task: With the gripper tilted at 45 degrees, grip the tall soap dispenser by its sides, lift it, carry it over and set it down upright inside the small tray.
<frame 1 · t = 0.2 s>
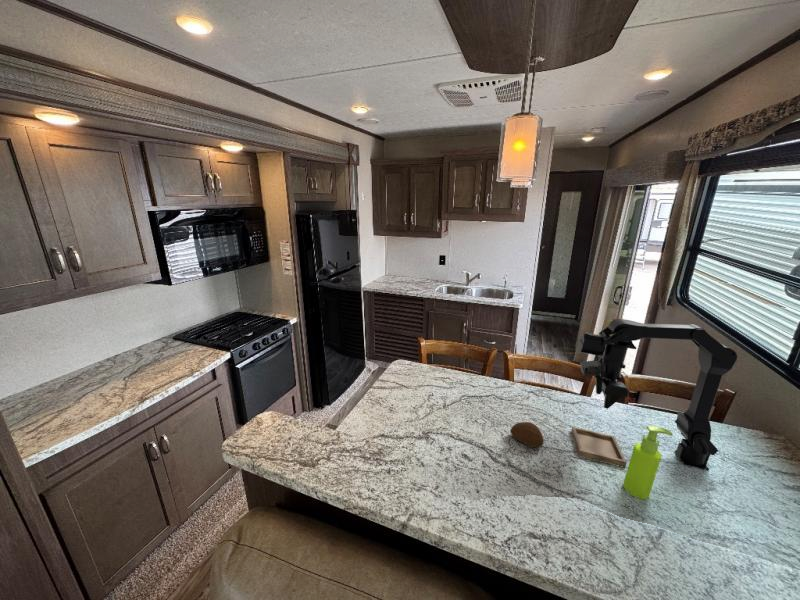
hand: (601, 400, 104), 15 cm above the worktop, tool pointing down, fingers open, 9 cm apart
soap dispenser: (637, 491, 87), on the worktop
potato: (525, 441, 104), on the worktop
tray: (596, 448, 103), on the worktop
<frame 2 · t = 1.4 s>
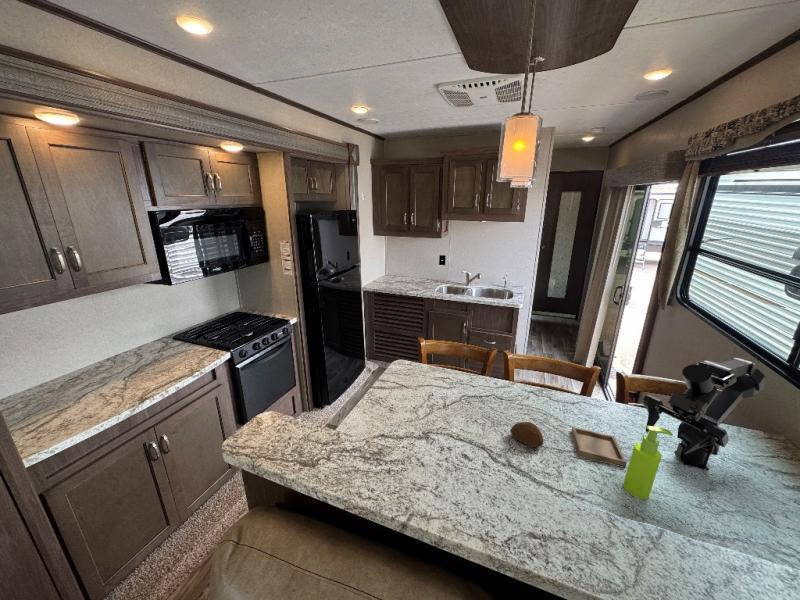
hand: (664, 441, 87), 13 cm above the worktop, tool tilted 45°, fingers open, 9 cm apart
nothing on the worktop moved.
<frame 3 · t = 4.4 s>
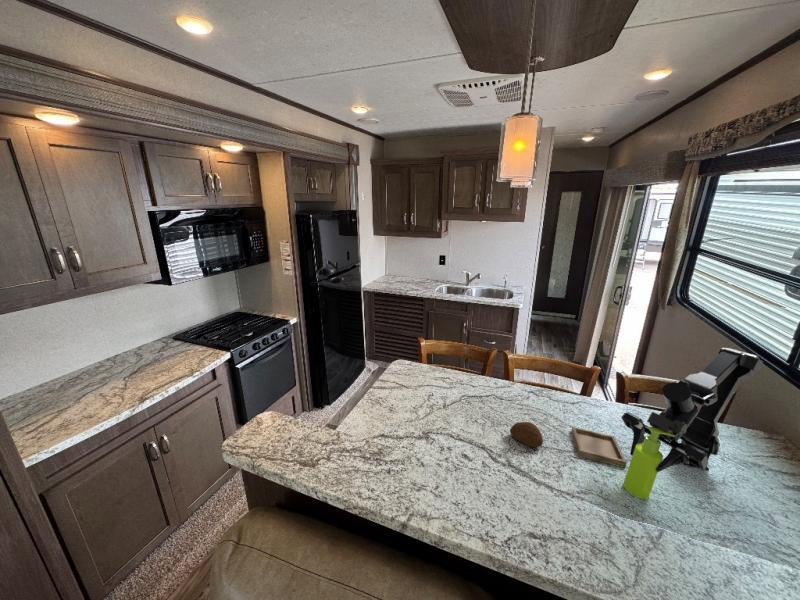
hand: (643, 462, 84), 10 cm above the worktop, tool tilted 45°, fingers closed on soap dispenser, 6 cm apart
soap dispenser: (637, 490, 87), on the worktop, touching gripper
everything else where it was.
when the fingers open (12 cm above the worktop, at t = 9.3 s): soap dispenser drops 1 cm, resting on tray.
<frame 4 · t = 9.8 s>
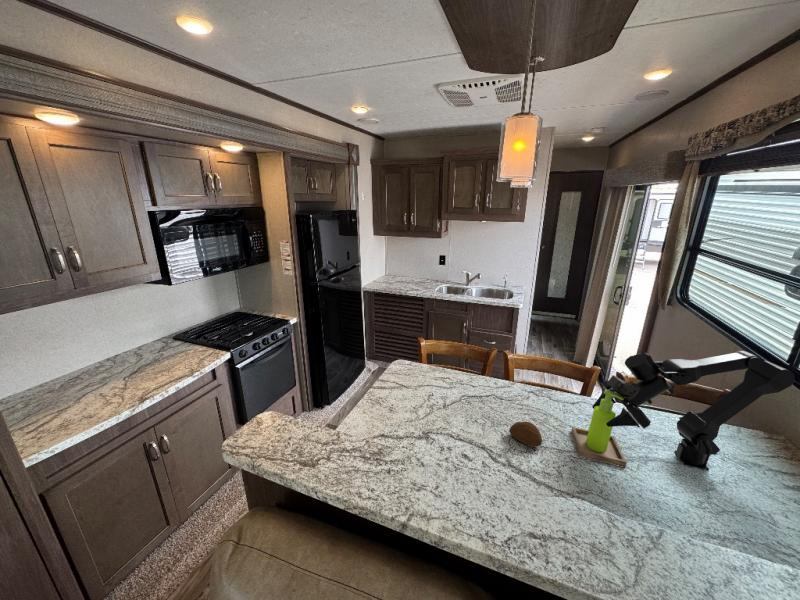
hand: (599, 416, 100), 12 cm above the worktop, tool tilted 45°, fingers open, 9 cm apart
soap dispenser: (597, 447, 103), point 1 cm above the worktop, touching tray
everything else where it was.
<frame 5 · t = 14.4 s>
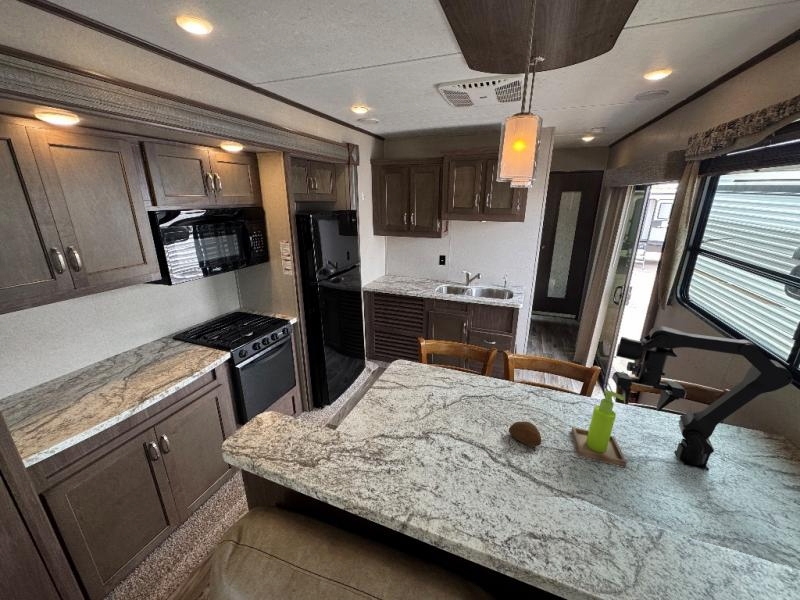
hand: (641, 407, 105), 13 cm above the worktop, tool pointing down, fingers open, 9 cm apart
nothing on the worktop moved.
at the end: soap dispenser inside the target area on the tray (0.4 cm from its centre), point 0.6 cm above the tray's base; soap dispenser tilted 0°; the gripper is holding nothing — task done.
